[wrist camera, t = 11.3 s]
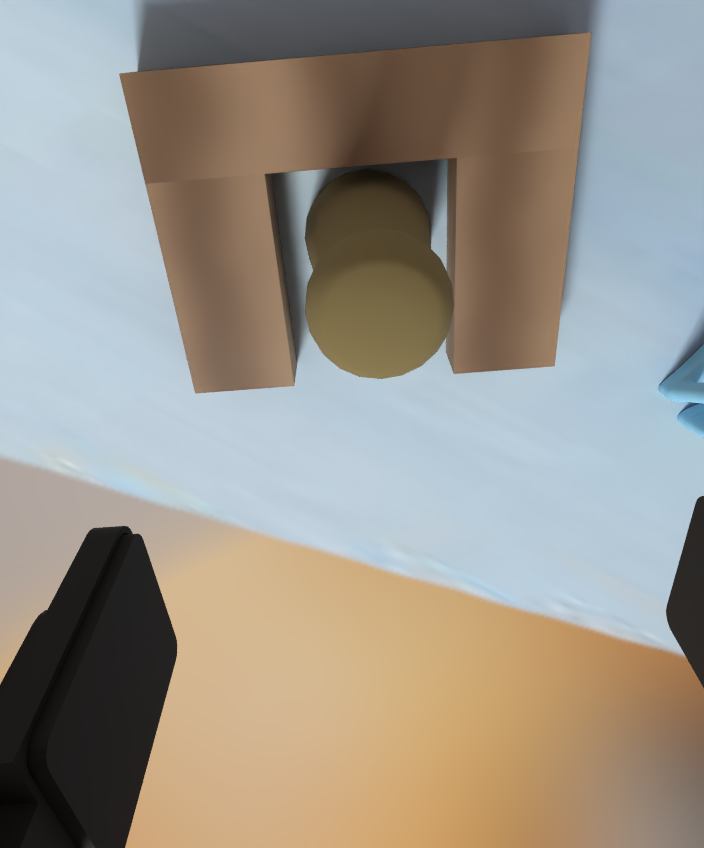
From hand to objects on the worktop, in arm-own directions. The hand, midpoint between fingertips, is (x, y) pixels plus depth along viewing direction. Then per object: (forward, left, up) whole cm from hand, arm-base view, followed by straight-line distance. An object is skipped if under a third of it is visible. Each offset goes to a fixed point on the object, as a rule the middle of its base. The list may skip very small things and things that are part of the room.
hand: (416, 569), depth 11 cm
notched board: (0, -1, -22) cm, 22 cm away
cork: (0, 0, -22) cm, 22 cm away
